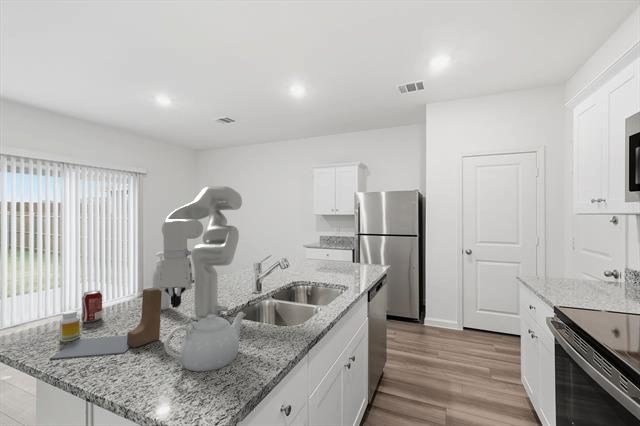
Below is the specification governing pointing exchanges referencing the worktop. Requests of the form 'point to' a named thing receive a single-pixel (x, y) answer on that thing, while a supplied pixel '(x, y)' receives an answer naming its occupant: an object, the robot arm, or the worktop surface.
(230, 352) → the teapot
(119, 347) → the rubber mat
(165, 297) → the soap bottle
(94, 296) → the soda can
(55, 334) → the worktop surface
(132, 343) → the wooden block
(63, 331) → the supplement bottle
